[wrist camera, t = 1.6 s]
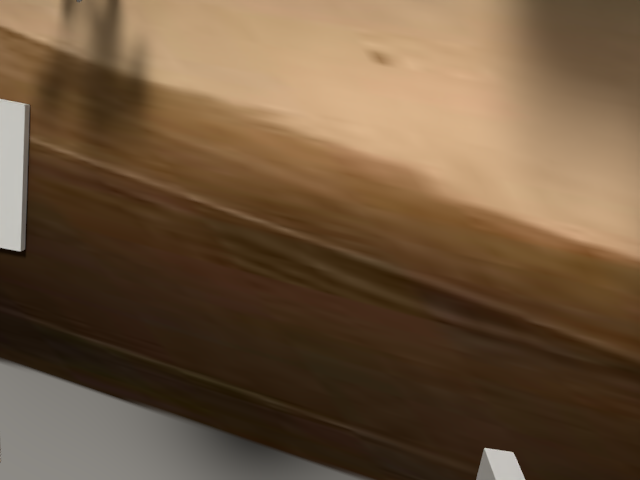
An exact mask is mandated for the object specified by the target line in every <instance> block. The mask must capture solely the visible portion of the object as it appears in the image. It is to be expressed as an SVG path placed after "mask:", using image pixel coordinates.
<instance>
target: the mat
mask: <svg viewBox="0 0 640 480" xmlns="http://www.w3.org/2000/svg"><path fill="white" fill-rule="evenodd" d="M29 117H30V105H29V104H24V103H19V102H14V101H8V100H3V99H0V248H4V249H10V250H15V251H20V252H21V251H23V250H25V238H26V208H27V178H28V148H29Z"/></svg>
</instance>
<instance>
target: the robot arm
mask: <svg viewBox="0 0 640 480" xmlns="http://www.w3.org/2000/svg"><path fill="white" fill-rule="evenodd" d="M0 462H1V447H0ZM476 480H525V478H524V476H523V473H522V471H521V469H520V467H519V464H518V462H517V460H516V457H515V455H514V453H513V452H508V451H501V450H494V449H488V448H484V451H483V455H482V459H481V463H480V467H479V471H478V475H477V479H476Z"/></svg>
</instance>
